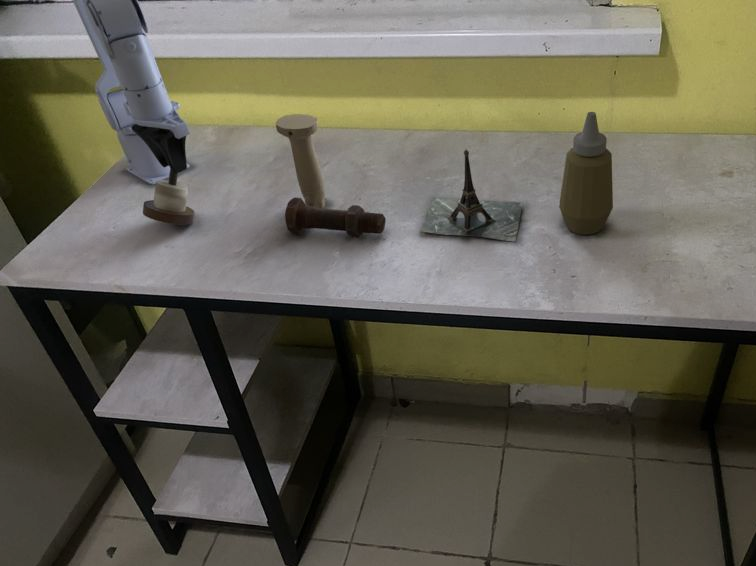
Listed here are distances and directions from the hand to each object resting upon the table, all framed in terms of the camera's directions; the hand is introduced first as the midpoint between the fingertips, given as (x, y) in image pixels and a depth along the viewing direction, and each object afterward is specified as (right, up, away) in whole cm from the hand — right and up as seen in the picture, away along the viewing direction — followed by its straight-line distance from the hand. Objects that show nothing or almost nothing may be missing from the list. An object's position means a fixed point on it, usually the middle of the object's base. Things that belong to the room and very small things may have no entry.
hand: (174, 167), depth 112 cm
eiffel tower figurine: (+47, -8, 0) cm, 48 cm away
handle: (+21, -5, +6) cm, 23 cm away
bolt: (+26, -10, 0) cm, 28 cm away
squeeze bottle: (+64, -10, -3) cm, 65 cm away
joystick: (+2, -2, +4) cm, 4 cm away
